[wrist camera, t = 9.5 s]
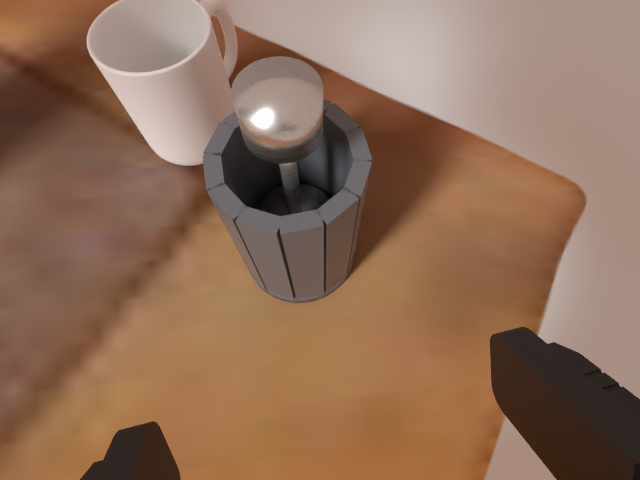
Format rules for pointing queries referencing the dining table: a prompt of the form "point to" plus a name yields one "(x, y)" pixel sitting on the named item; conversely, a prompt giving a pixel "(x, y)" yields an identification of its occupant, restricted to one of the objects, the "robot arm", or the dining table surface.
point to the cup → (168, 70)
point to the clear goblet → (282, 125)
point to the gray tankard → (301, 228)
